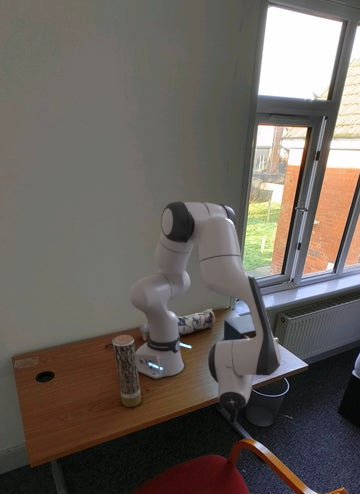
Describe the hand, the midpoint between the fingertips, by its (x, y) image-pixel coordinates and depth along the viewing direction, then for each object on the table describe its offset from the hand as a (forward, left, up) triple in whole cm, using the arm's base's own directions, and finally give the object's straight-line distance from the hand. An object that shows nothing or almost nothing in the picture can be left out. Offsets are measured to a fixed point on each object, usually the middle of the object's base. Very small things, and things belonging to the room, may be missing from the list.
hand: (244, 346), depth 117 cm
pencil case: (-38, +38, -20) cm, 57 cm away
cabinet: (-11, +36, -19) cm, 43 cm away
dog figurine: (-52, +25, -20) cm, 61 cm away
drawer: (-2, +28, -18) cm, 34 cm away
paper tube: (-34, -20, -20) cm, 44 cm away
